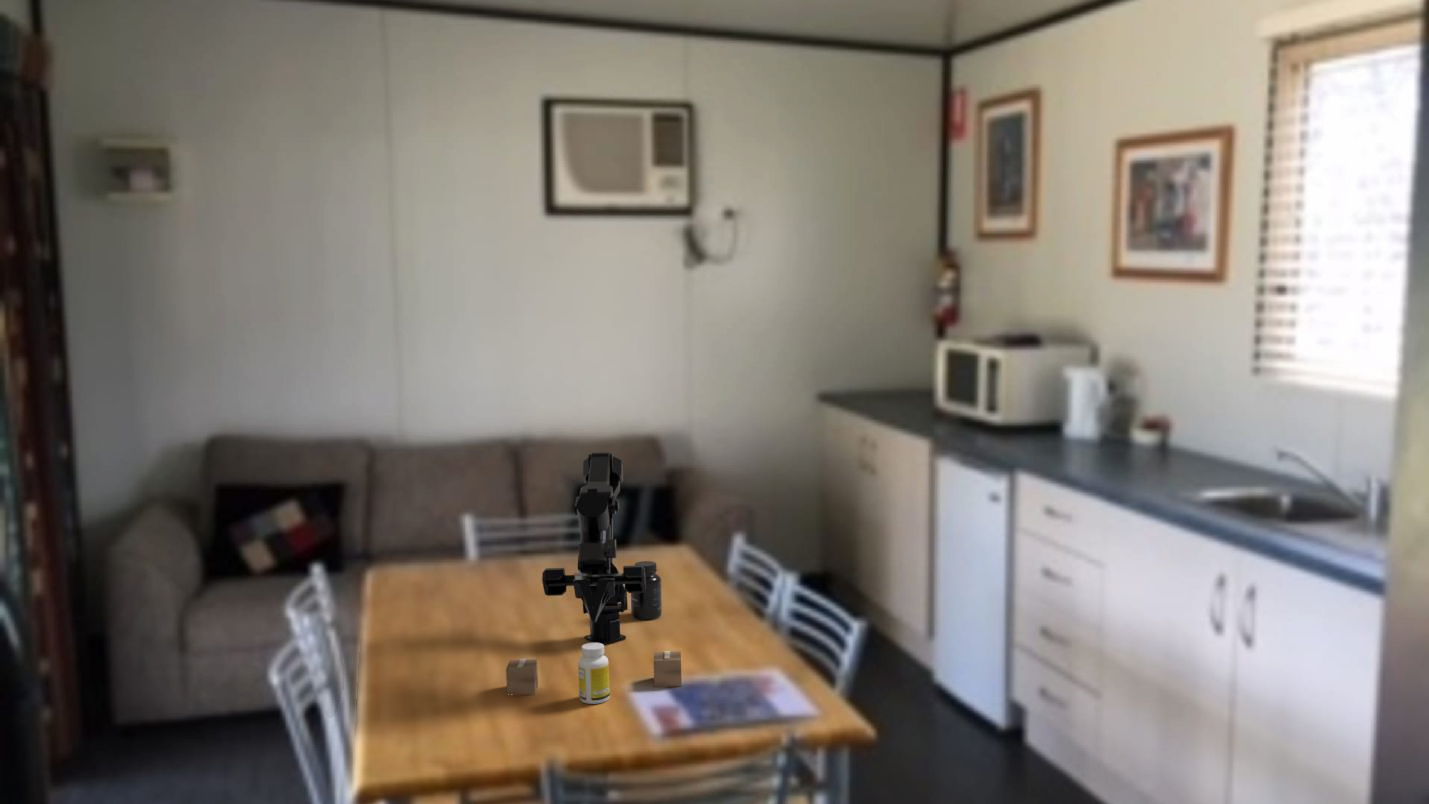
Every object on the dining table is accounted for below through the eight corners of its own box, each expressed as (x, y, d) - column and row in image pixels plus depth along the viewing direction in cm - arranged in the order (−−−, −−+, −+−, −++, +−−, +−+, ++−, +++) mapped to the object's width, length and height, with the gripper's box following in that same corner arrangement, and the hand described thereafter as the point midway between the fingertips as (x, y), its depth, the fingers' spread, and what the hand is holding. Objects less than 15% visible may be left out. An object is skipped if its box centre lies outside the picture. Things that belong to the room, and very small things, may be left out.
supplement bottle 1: (614, 695, 207) (613, 642, 206) (602, 706, 202) (600, 652, 201) (587, 692, 208) (585, 640, 207) (574, 703, 203) (572, 649, 202)
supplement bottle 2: (625, 619, 253) (624, 565, 251) (639, 610, 259) (637, 558, 258) (654, 622, 250) (652, 568, 249) (667, 613, 256) (665, 560, 255)
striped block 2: (654, 678, 216) (653, 650, 215) (681, 677, 216) (680, 649, 215) (654, 687, 211) (653, 659, 210) (681, 686, 211) (680, 658, 210)
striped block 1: (510, 686, 213) (509, 658, 212) (538, 685, 213) (537, 657, 212) (507, 695, 208) (505, 667, 207) (534, 694, 208) (533, 666, 208)
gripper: (541, 525, 210) (536, 600, 200) (643, 522, 211) (643, 597, 201) (547, 557, 219) (543, 631, 209) (645, 554, 220) (645, 628, 210)
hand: (593, 621), depth 207 cm, fingers closed
